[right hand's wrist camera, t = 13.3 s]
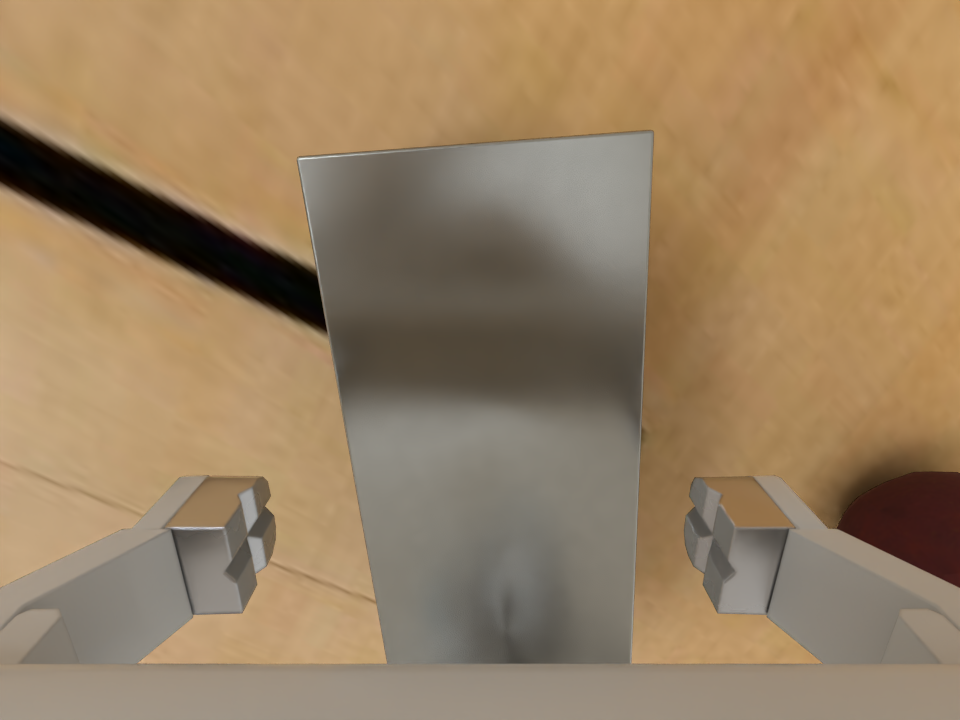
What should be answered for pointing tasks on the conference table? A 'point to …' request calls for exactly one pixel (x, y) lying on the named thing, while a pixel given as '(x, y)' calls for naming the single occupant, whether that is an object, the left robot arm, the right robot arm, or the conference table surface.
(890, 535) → the potato
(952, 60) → the conference table surface
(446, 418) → the box
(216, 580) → the right robot arm
